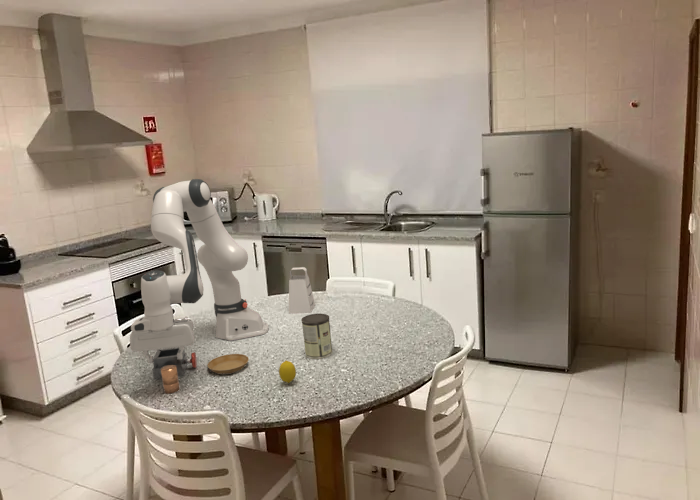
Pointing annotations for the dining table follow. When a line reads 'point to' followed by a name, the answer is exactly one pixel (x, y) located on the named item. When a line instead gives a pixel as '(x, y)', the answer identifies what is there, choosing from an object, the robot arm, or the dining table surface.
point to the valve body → (171, 361)
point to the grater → (300, 293)
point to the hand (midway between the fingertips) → (165, 360)
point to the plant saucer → (228, 363)
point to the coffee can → (317, 336)
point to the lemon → (287, 371)
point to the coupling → (170, 379)
